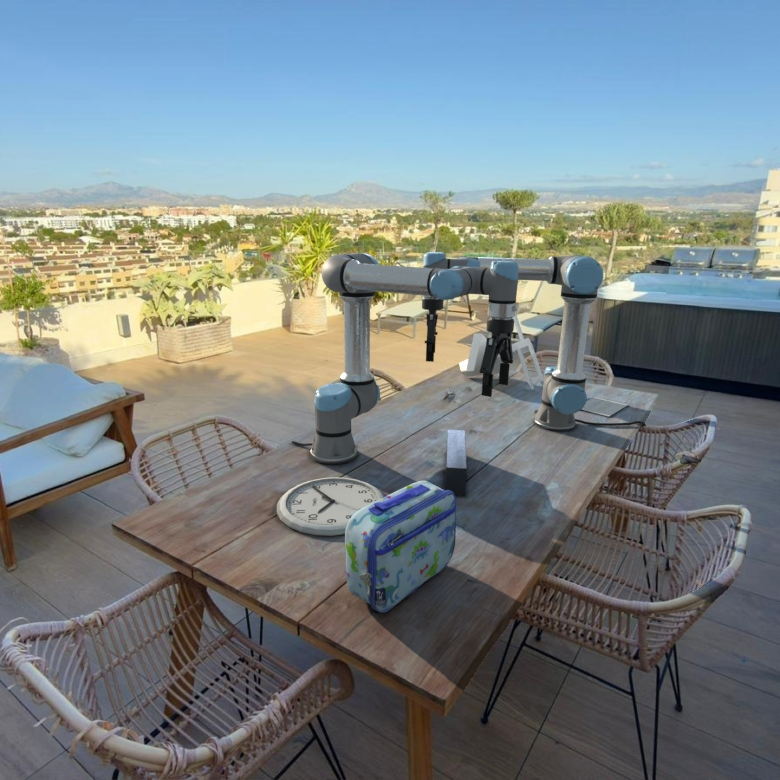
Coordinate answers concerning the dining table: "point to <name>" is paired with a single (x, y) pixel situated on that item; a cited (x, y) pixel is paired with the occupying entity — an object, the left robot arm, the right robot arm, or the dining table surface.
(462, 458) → the bar
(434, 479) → the dining table surface
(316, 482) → the wall clock
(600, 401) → the invitation card
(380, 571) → the lunch box
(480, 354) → the white plastic object
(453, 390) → the fork
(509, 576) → the dining table surface
